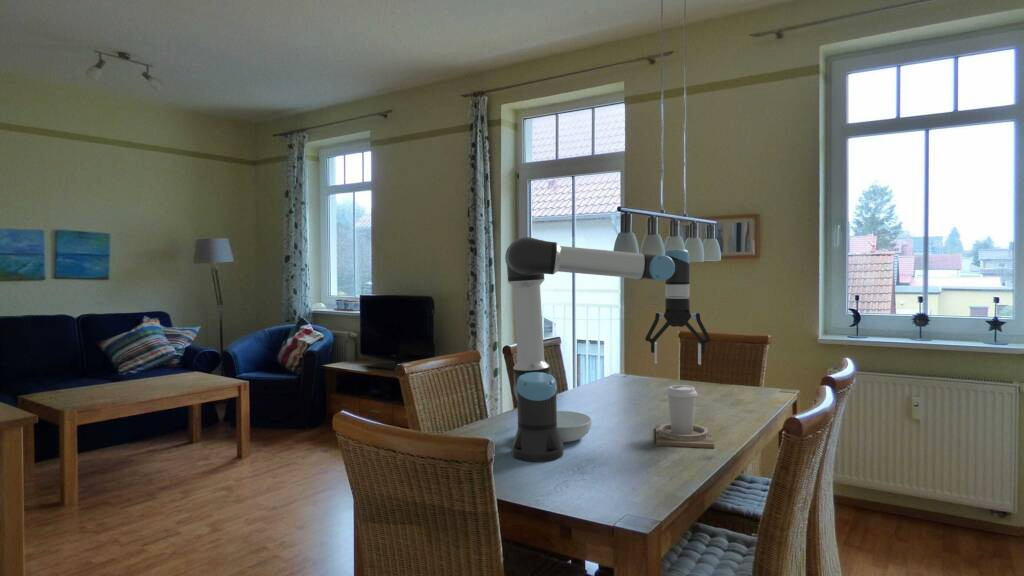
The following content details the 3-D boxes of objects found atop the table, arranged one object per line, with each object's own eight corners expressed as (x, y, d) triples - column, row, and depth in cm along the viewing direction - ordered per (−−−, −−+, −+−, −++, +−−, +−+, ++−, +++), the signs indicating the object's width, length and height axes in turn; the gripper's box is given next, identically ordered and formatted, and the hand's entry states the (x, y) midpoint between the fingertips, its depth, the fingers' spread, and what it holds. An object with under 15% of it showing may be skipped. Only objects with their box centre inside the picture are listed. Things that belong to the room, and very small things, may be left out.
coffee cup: (685, 428, 201) (684, 383, 200) (704, 435, 192) (703, 388, 191) (660, 431, 197) (660, 386, 197) (678, 439, 188) (678, 391, 188)
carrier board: (714, 448, 183) (714, 439, 183) (656, 445, 187) (656, 436, 187) (708, 430, 202) (708, 422, 202) (655, 428, 206) (655, 420, 206)
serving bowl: (538, 451, 183) (538, 428, 182) (519, 433, 203) (519, 413, 203) (602, 445, 188) (602, 423, 188) (577, 428, 208) (577, 408, 208)
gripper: (717, 297, 195) (717, 362, 196) (638, 297, 201) (638, 360, 201) (719, 298, 188) (719, 366, 188) (637, 298, 193) (637, 364, 194)
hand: (677, 363), depth 195 cm, fingers open, 13 cm apart
